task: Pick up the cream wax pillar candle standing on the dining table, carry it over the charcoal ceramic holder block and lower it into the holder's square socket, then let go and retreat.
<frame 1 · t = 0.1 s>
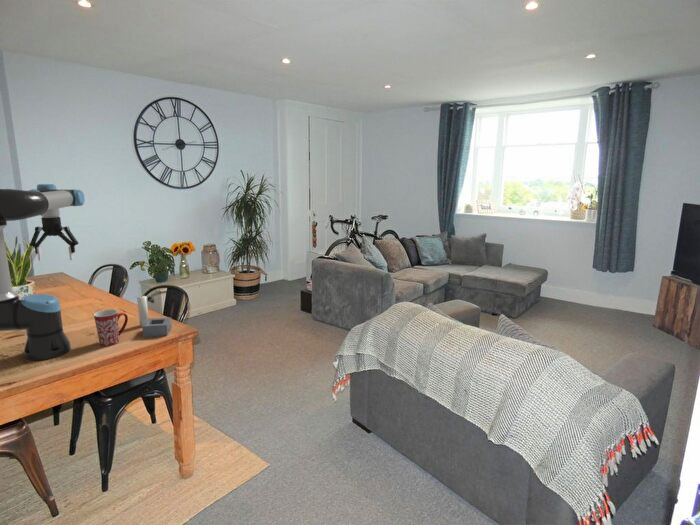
hand: (56, 259, 207), 28 cm above the table, fingers open, 13 cm apart
mug: (113, 342, 180), on the table
candle: (144, 325, 199), on the table
holder: (158, 332, 191), on the table
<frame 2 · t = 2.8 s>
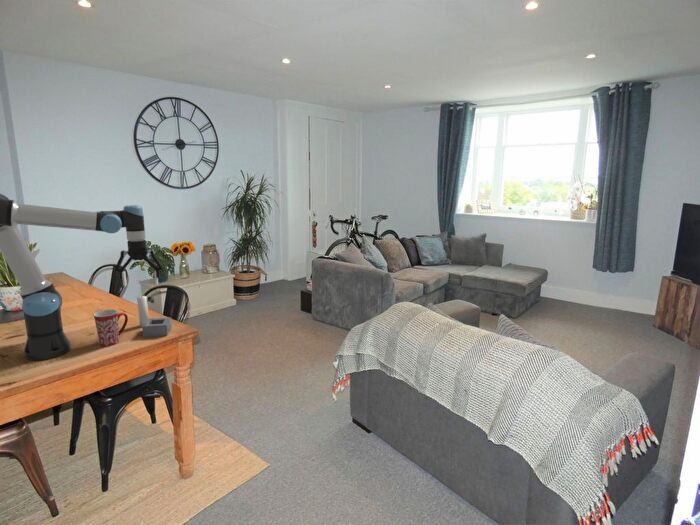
hand: (141, 285, 195), 20 cm above the table, fingers open, 13 cm apart
nothing on the table moved.
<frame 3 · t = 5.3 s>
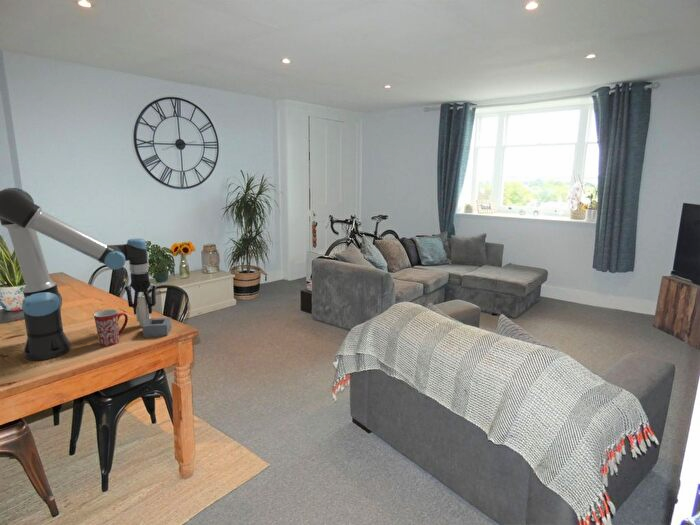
hand: (143, 320, 199), 3 cm above the table, fingers closed on candle, 4 cm apart
candle: (144, 325, 199), on the table, touching gripper
everything else where it was.
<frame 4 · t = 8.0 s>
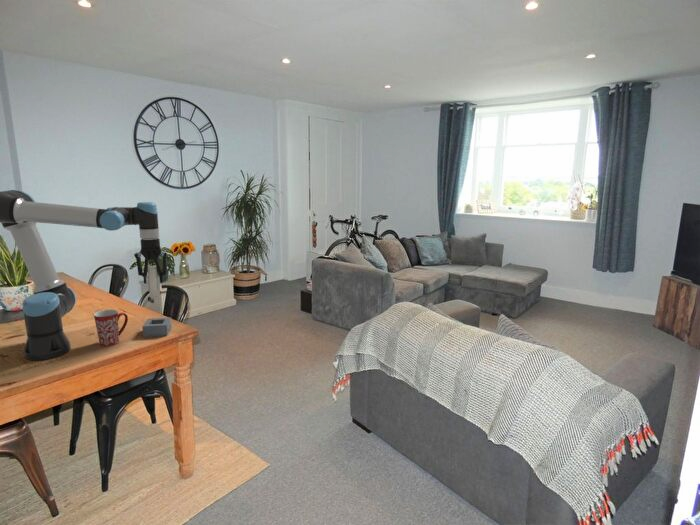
hand: (154, 290, 187), 20 cm above the table, fingers closed on candle, 4 cm apart
candle: (155, 297, 188), point 17 cm above the table, touching gripper
everything else where it was.
when the fingers open (7 cm above the table, at t = 10.9 s): candle drops 2 cm, resting on holder.
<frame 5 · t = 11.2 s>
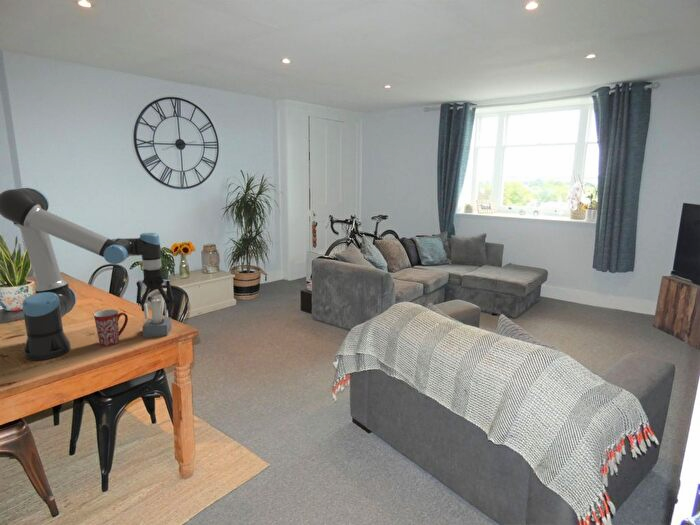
hand: (156, 317, 190), 7 cm above the table, fingers open, 8 cm apart
candle: (157, 330, 191), point 1 cm above the table, touching holder
everything else where it was.
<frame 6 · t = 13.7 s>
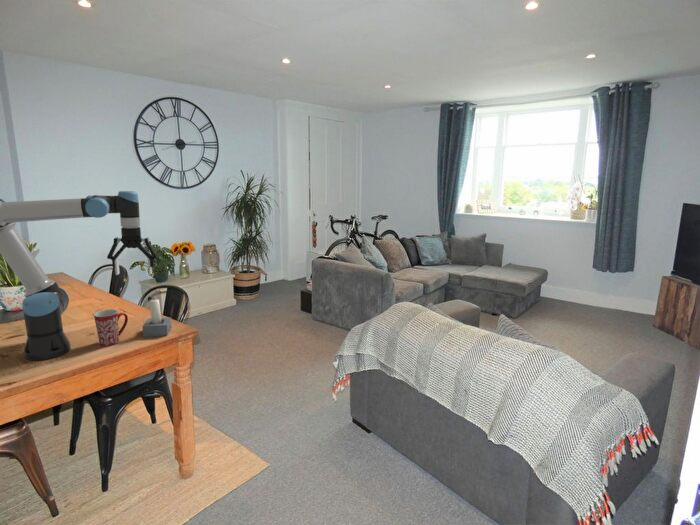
hand: (134, 274, 188), 26 cm above the table, fingers open, 13 cm apart
nothing on the table moved.
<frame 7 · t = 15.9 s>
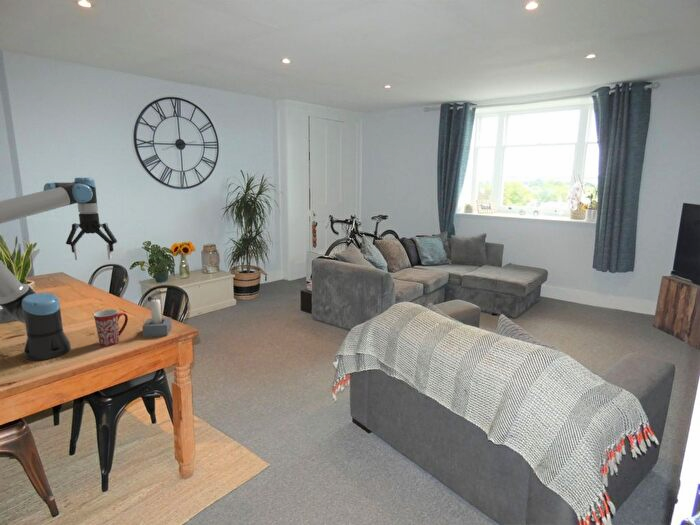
hand: (93, 259, 193), 32 cm above the table, fingers open, 13 cm apart
nothing on the table moved.
at the end: candle 0.1 cm off-centre on the holder, point 1.0 cm above the holder's base; candle tilted 1°; the gripper is holding nothing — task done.
